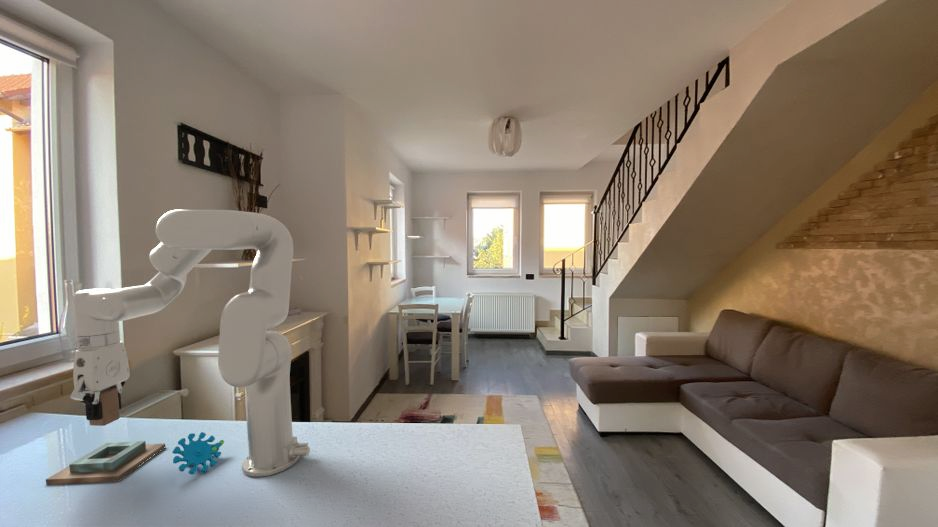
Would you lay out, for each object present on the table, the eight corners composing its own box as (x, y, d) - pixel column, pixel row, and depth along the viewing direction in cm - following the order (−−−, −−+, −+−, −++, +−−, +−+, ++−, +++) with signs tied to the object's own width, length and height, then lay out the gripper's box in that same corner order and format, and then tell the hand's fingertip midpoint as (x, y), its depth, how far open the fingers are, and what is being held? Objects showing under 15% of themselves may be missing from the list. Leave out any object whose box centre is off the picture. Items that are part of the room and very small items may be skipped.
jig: (165, 447, 101) (164, 436, 101) (118, 481, 87) (117, 467, 87) (103, 450, 101) (102, 438, 101) (46, 484, 87) (44, 470, 87)
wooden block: (120, 418, 95) (118, 387, 95) (103, 426, 91) (101, 393, 91) (106, 418, 96) (103, 386, 95) (88, 426, 92) (86, 393, 91)
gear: (182, 478, 85) (168, 438, 89) (171, 492, 87) (158, 452, 90) (233, 459, 95) (218, 424, 98) (222, 472, 96) (208, 437, 100)
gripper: (80, 349, 84) (87, 431, 85) (143, 331, 101) (148, 399, 102) (45, 350, 84) (52, 432, 85) (114, 332, 100) (119, 400, 102)
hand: (104, 413), depth 93 cm, fingers closed on wooden block, 4 cm apart
